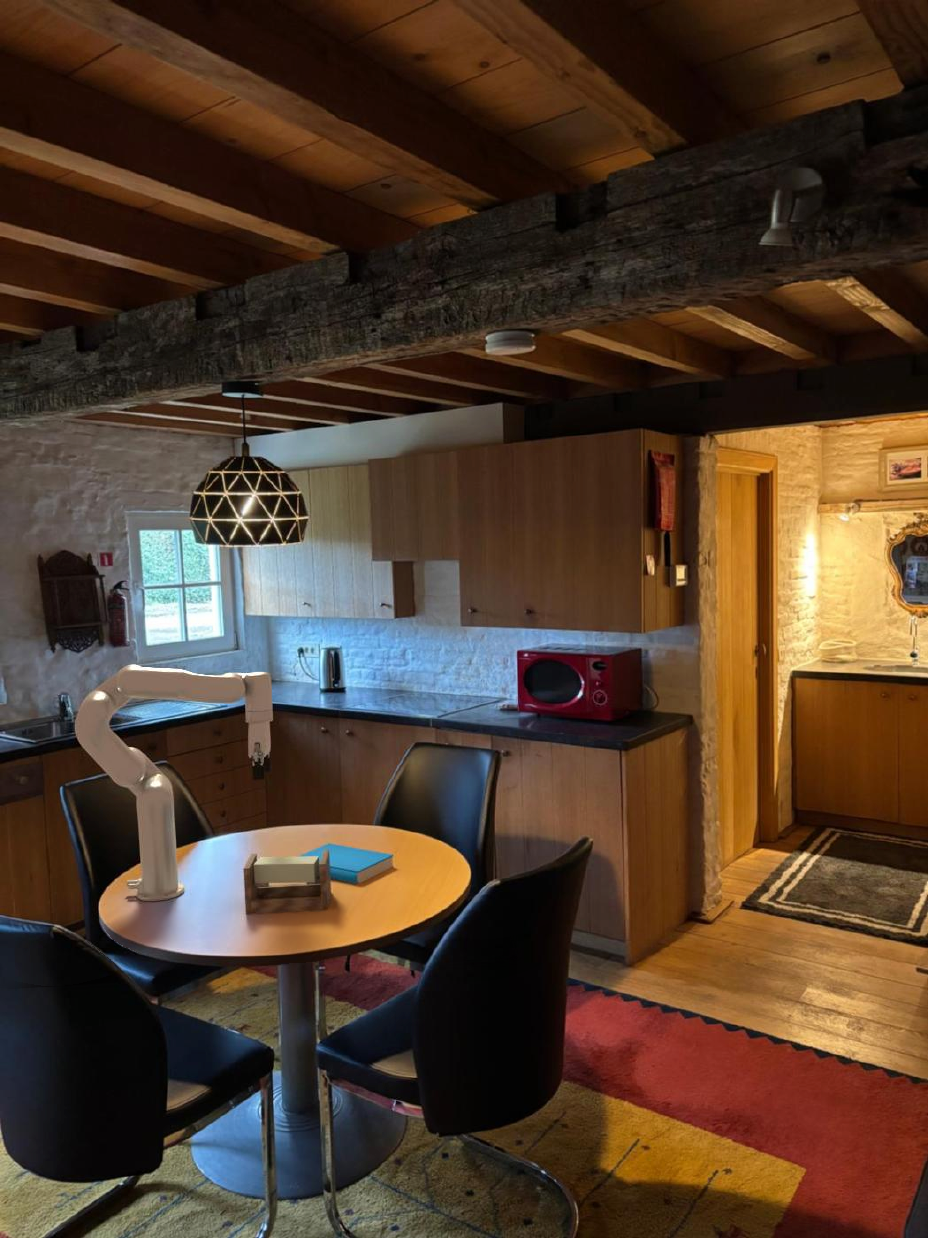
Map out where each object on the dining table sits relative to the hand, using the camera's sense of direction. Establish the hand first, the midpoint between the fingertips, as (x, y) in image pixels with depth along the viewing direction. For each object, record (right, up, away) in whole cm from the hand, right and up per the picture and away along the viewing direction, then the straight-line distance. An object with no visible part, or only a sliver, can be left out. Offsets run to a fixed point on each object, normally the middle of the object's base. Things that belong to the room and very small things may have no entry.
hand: (262, 775), depth 265 cm
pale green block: (+11, -24, -18) cm, 32 cm away
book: (+22, -30, +9) cm, 38 cm away
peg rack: (+11, -31, -18) cm, 37 cm away
